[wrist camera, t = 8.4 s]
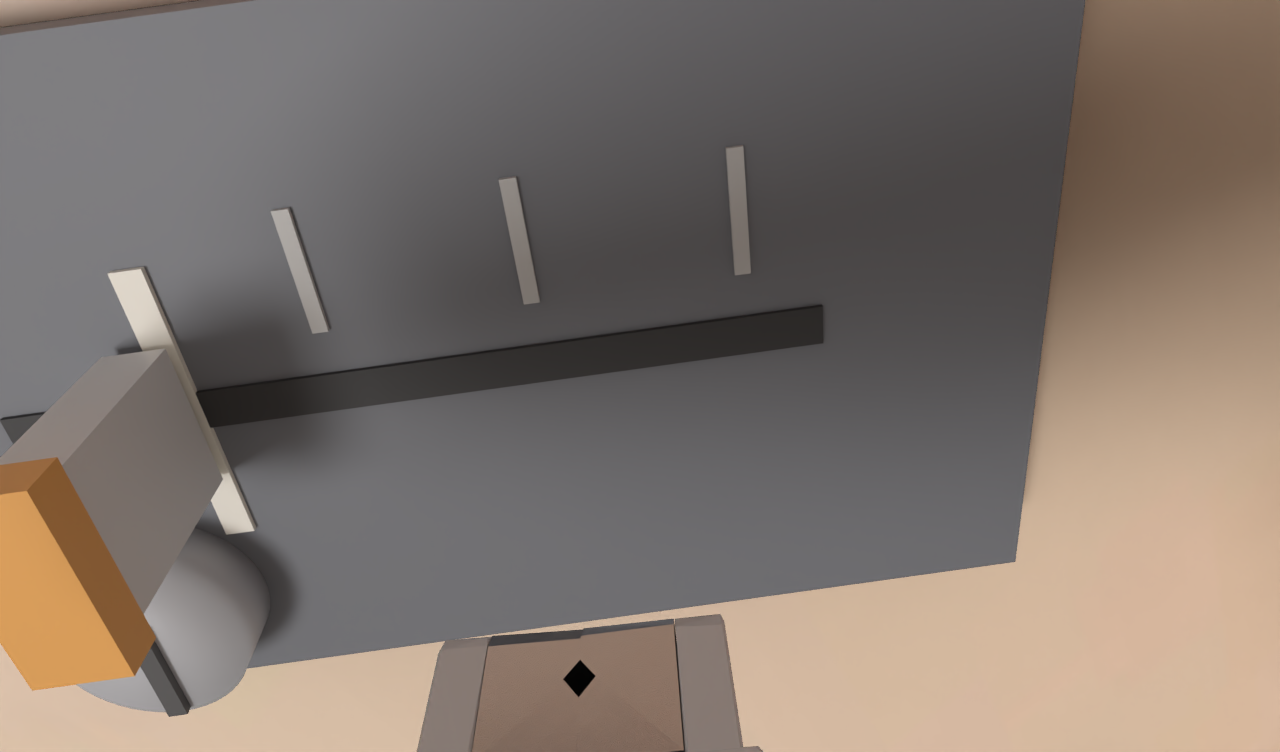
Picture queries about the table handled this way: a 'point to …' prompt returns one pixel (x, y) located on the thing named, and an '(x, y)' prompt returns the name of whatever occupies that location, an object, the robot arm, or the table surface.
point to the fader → (98, 519)
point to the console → (541, 298)
